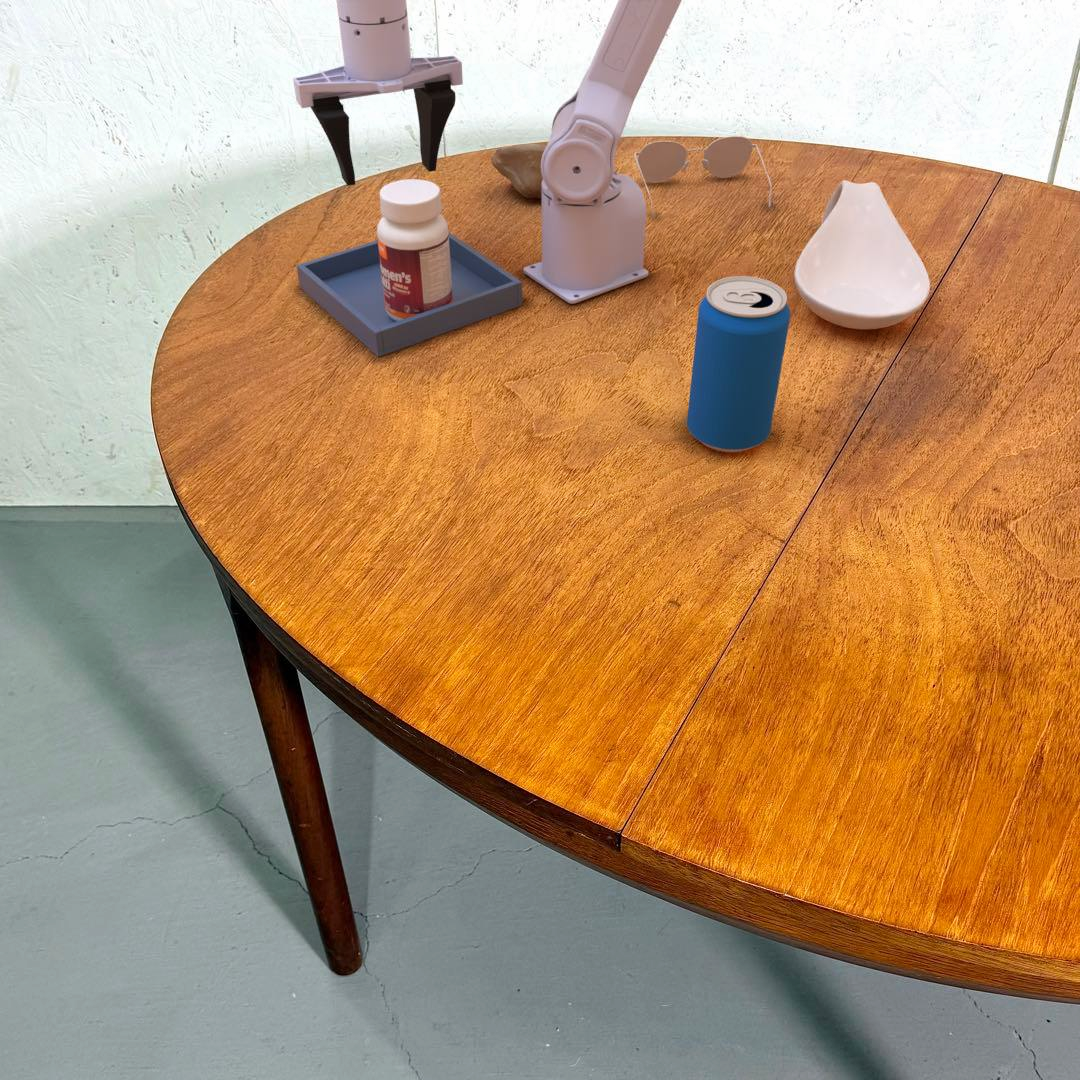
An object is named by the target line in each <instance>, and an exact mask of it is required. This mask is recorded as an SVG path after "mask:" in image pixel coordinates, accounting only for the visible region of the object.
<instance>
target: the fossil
mask: <svg viewBox="0 0 1080 1080" xmlns="http://www.w3.org/2000/svg"><path fill="white" fill-rule="evenodd" d="M547 145H548V144H547ZM547 145H545V144H540V143H520V144H519V143H518V144H513V145H507V146H500V147H498V148H497V149H496V150H495V152H494V154H492V155H491V157H490V161H491V164H492V166H493V167H494V168H495V169H496V171H497V172H499V174H500V175H501V176H502V177H505V178H506V179H508V180H509V181H510V184H511V185H512V187H513V188H514V189H515V190H516V192H517V193H519V194H520V195H522V196H523V197H525V198H526V199H541V200H542V180H543V177H542V174H541V159H542V155H543V152H544V150H545V148H546V147H547Z"/></svg>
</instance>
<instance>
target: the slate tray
mask: <svg viewBox="0 0 1080 1080" xmlns="http://www.w3.org/2000/svg"><path fill="white" fill-rule="evenodd" d="M449 247H450V264H451V280H452V296H453V302H452V303H450V304H447V305H444V306H441V307H438V308H435V309H432V310H429V311H426V312H424V313H421V314H418V315H415V316H412V317H409V318H406V319H403V320H400V321H398V322H397V321H395V320H393V319H392V318H390V316H389V315H388V314H387V312H386V309H385V302H384V293H383V285H382V275H381V266H380V256H379V247H378V239H377V240H374V241H371V242H367V243H364V244H360V245H358V246H354V247H351V248H348V249H344V250H341V251H338V252H333V253H332V254H327V255H324V256H321V257H318V258H314V259H312V260H308V261H305V262H302V263H298V264H296V265H295V266H296V270H297V271H296V273H297V276H298V283H299V289H301V290H302V291H303V293H305V294H306V295H307V296H308V297H309V298H311V299H312V301H314V302H316V304H318V305H319V306H320V307H321V308H322V309H324V311H326V313H328V314H329V315H330V316H331V317H332V318H334V319H335V320H336V322H338V323H339V324H340V325H341V326H342V327H344V329H346V330H347V331H348V332H350V334H351V335H353V336H354V337H355V338H356V339H357V340H358V341H359V342H361V343H362V344H363V345H364V346H365V347H367V349H369V350H370V351H371V352H372V353H373V354H374V355H375V356H376V357H377V358H380V357H383V356H386V355H389V354H391V353H394V352H396V351H400V350H403V349H404V348H407V347H411V346H413V345H416V344H419V343H422V342H424V341H427V340H430V339H433V338H435V337H438V336H441V335H444V334H446V333H449V332H452V331H455V330H458V329H460V328H463V327H467V326H469V325H472V324H474V323H477V322H480V321H482V320H486V319H488V318H492V317H494V316H496V315H499V314H502V313H505V312H507V311H511V310H513V309H516V308H519V307H521V306H523V303H524V301H523V281H521V280H520V279H519V278H518V277H516V276H514V275H513V274H511V273H510V272H508V271H507V270H506V269H504V268H503V267H501V266H500V265H498V264H497V263H496V262H494V261H492V260H491V259H489V258H488V257H487V256H485V255H483V254H482V253H480V252H479V251H478V250H476V249H475V248H473V247H472V246H470V245H468V244H467V243H465V241H463V240H461V239H460V238H458V237H457V236H455V235H454V234H453V233H451V232H449Z"/></svg>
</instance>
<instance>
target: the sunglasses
mask: <svg viewBox="0 0 1080 1080" xmlns="http://www.w3.org/2000/svg"><path fill="white" fill-rule="evenodd" d="M753 148H755V149H756V152H757V153H758V156H759V159H760V161H761V163H762V166H763V168H764V171H765V173H766V177H767V180H768V183H769V195H768V196H769V197H768V208H771V204H772V203H771V202H772V187H773V186H772V182H771V179H770V176H769V174H768V172H767V168H766V166H765V162H764V160H763V157H762V155H761V151H760V148H759V147H758V145H757V144H756V143H754V144H753V143H752V142H751V140H750V139H749V138H747V137H746V136H742V135H732V136H731V135H730V136H723V137H720V138H717V139H715V140H713V141H712V142H711V143H709V144H708V145H707V147H706V148H690V149H688V150H687V148H686V147H685V146H684V145H683V144H681V142H677V141H673V140H657V141H652V142H650V143H647V144H646V145H644V146H643V147H642V148H641V150H639V151H637V152H634V155H633V158H634V160H635V163H636V166H637V168H638V172H639V174H640V177H641V178H642V181H643V183H644V186H645V189H646V191H647V194H648V197H649V200H650V205H651V211H652V216H654V217H655V215H654V207H653V202H652V196H651V193H650V191H649V187H648V185H647V184H646V182H647V183H653V184H660V183H664V182H667V181H669V180H671V179H672V178H674V177H675V176H676V175H677V174H678V173H679V172H682V173H684V171H685V170H686V169H687V168H688V166H689V164H690V160H688V159H687V158H688V154H689V153H690V152H693V151H704V152H703V159H702V160H701V164H702V167H703V169H704V170H705V171H708V172H709V173H710V174H711V176H714V177H716V178H720V179H727V178H732V177H735V176H737V175H738V174H740V173H741V172H742V171H744V169H745V168H746V166H748V165H747V164H748V162H749V160H750V158H751V155H752V152H753Z"/></svg>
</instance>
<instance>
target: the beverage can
mask: <svg viewBox="0 0 1080 1080" xmlns="http://www.w3.org/2000/svg"><path fill="white" fill-rule="evenodd" d="M787 301H788V295H787V293H786V291H785V290H784V289H783V288H782V287H780V286H779V285H778V284H777V283H775V282H772V281H770V280H768V279H764V278H760V277H755V276H748V275H747V276H746V275H736V276H727V277H724V278H721V279H718V280H716V281H713V282H712V283H711V284H710V285H709V286H708V288H707V289H706V295H705V296H704V297H703V298H702V300H701V301H700V303H699V306H698V313H697V320H696V321H697V323H696V331H695V342H694V350H693V352H694V353H693V358H692V359H693V360H692V369H691V380H690V388H689V398H688V406H687V408H688V409H687V416H686V426H687V429H688V431H689V433H690V435H692V437H694V439H696V440H697V441H699V442H700V443H702V444H703V445H704V446H706V447H708V448H710V449H712V450H714V451H718V452H723V453H740V452H744V451H747V450H750V449H753V448H755V447H757V446H760V445H761V444H763V443H765V442H766V441H767V440H768V438H769V437H770V435H771V433H772V432H771V431H772V427H773V420H774V415H775V408H776V402H777V396H778V390H779V385H780V379H781V374H782V367H783V361H784V356H785V349H786V345H787V344H786V343H787V338H788V333H789V327H790V321H791V311H790V308H789V305H788V304H787Z"/></svg>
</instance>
